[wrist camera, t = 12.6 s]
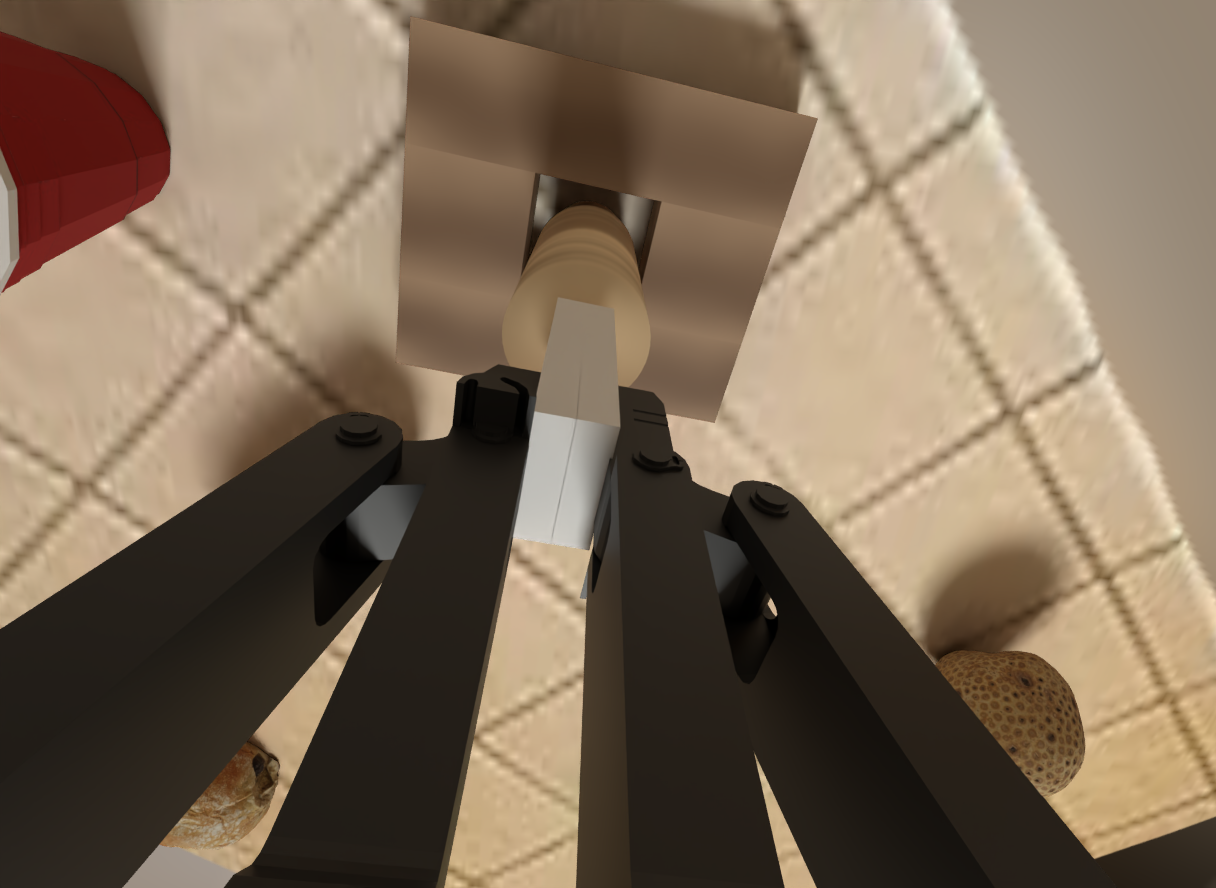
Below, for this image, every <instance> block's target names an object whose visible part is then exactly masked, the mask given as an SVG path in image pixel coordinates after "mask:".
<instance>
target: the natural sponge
mask: <svg viewBox="0 0 1216 888" xmlns="http://www.w3.org/2000/svg"><path fill="white" fill-rule="evenodd" d="M935 666H936V667H937V668H938V670H939V671H940V672H941V673H942V674H943V676H944V677H945V678H946V679H947V681H948V682H949V683H950V684H951V685H952V687H953V688H954V689H955V690H956V692H957V693H958V694H959V695H960V696H961V698H962V699H963V700H964V701H965V703H966V704H967V705H968V706H969V707H970V709H971V710H972V711H973V712H974V713H975V715H976V716H977V717H978V718H979V720H980V721H981V722H982V723H983V724H984V726H985V727H986V728H987V729H988V731H989V732H990V733H991V734H992V735H993V737H994V738H995V739H996V740H997V741H998V743H999V744H1000V745H1001V746H1002V748H1003V749H1004V750H1005V751H1006V752H1007V754H1008V755H1009V756H1010V757H1011V759H1012V760H1013V761H1014V762H1015V763H1016V765H1017V766H1018V767H1019V768H1020V770H1021V771H1022V772H1023V773H1024V774H1025V776H1026V777H1027V778H1028V779H1029V780H1030V782H1031V783H1032V784H1033V785H1034V787H1035V788H1036V789H1037V790H1038V791H1039V793H1040V794H1041V795H1042V796H1043V798H1046V797H1049V796H1051V795H1053V794H1055V793H1057V792H1059V791H1061V790H1062V789H1064V788H1065V787H1066V786H1067V785H1068V784H1069V783H1070V782H1071V781H1072V779H1073V778H1074V777H1075V775H1076V774H1077V772H1078V771H1079V769H1080V768H1081V765H1082V763H1083V760H1084V753H1085V738H1084V731H1083V726H1082V722H1081V718H1080V714H1079V710H1078V706H1077V703H1076V700H1075V697H1074V694H1073V692H1072V690H1071V688H1070V686H1069V685H1068V683H1067V682H1066V681H1065V680H1064V678H1063V677H1062V676H1061V675H1060V674H1059V673H1058V671H1057V670H1056V669H1055V668H1053V667H1052V666H1051V665H1050V664H1048V663H1047V662H1046V661H1045V660H1044V659H1042V658H1041V657H1039V656H1037V655H1035V654H1032V653H1027V652H1021V651H1003V652H999V653H985V652H979V651H968V650H960V651H953V652H951V653H949V654H947V655H945V656H943V657H942V658H941V659H940V660H939V661H938V662H937V663H936V665H935Z"/></svg>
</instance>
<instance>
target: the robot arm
mask: <svg viewBox="0 0 1216 888" xmlns="http://www.w3.org/2000/svg"><path fill="white" fill-rule="evenodd" d="M593 533H594V543H593V549H592V553H591V557H590V561H589V565H588V569H587V573H586V577H585V580H584V584H583V588H582V592H581V596H580V598H582V599H586V597H587V603H586V630H585V658H584V685H583V712H582V740H581V767H580V795H579V822H578V850H577V877H576V888H784V883H783V879H782V874H781V870H780V865H779V861H778V857H777V852H776V848H775V843H774V839H773V835H772V830H771V826H770V821H769V817H768V812H767V808H766V804H765V799H764V795H763V790H762V786H761V782H760V777H759V773H758V768H757V764H756V760H755V755H756V757H757V759H758V761H759V763H760V766H761V768H762V770H763V772H764V774H765V776H766V779H767V781H768V783H769V785H770V787H771V789H772V792H773V794H774V796H775V798H776V800H777V802H778V805H779V807H780V809H781V811H782V813H783V815H784V818H785V820H786V822H787V824H788V826H789V828H790V831H791V833H792V835H793V837H794V839H795V841H796V844H797V846H798V848H799V850H800V852H801V855H802V857H803V859H804V861H805V863H806V865H807V868H808V870H809V872H810V874H811V876H812V878H813V881H814V883H815V885H816V887H817V888H1117V886H1116V885H1115V884H1114V883H1113V882H1112V880H1111V879H1110V878H1109V877H1108V876H1107V874H1106V873H1105V872H1104V871H1103V869H1102V868H1101V867H1100V866H1099V865H1098V863H1097V862H1096V861H1095V860H1094V858H1093V857H1092V856H1091V855H1090V854H1089V852H1088V851H1087V850H1086V849H1085V847H1084V846H1083V845H1082V844H1081V843H1080V841H1079V840H1078V839H1077V838H1076V837H1075V835H1074V834H1073V833H1072V832H1071V830H1070V829H1069V828H1068V827H1067V826H1066V824H1065V823H1064V822H1063V821H1062V819H1061V818H1060V817H1059V816H1058V815H1057V813H1056V812H1055V811H1054V810H1053V809H1052V807H1051V806H1050V805H1049V804H1048V802H1047V801H1046V800H1045V799H1044V798H1043V796H1042V795H1041V794H1040V793H1039V791H1038V790H1037V789H1036V788H1035V787H1034V785H1033V784H1032V783H1031V782H1030V780H1029V779H1028V778H1027V777H1026V776H1025V774H1024V773H1023V772H1022V771H1021V770H1020V768H1019V767H1018V766H1017V765H1016V763H1015V762H1014V761H1013V760H1012V759H1011V757H1010V756H1009V755H1008V754H1007V752H1006V751H1005V750H1004V749H1003V748H1002V746H1001V745H1000V744H999V743H998V741H997V740H996V739H995V738H994V737H993V735H992V734H991V733H990V732H989V731H988V729H987V728H986V727H985V726H984V724H983V723H982V722H981V721H980V720H979V718H978V717H977V716H976V715H975V713H974V712H973V711H972V710H971V709H970V707H969V706H968V705H967V704H966V703H965V701H964V700H963V699H962V698H961V696H960V695H959V694H958V693H957V692H956V690H955V689H954V688H953V687H952V685H951V684H950V683H949V682H948V681H947V679H946V678H945V677H944V676H943V674H942V673H941V672H940V671H939V670H938V668H937V667H936V666H935V665H934V664H933V662H932V661H931V660H930V659H929V657H928V656H927V655H926V654H925V653H924V651H923V650H922V649H921V648H920V646H919V645H918V644H917V643H916V642H915V640H914V639H913V638H912V637H911V635H910V634H909V633H908V632H907V631H906V629H905V628H904V627H903V626H902V625H901V623H900V622H899V621H898V620H897V618H896V617H895V616H894V615H893V614H892V612H891V611H890V610H889V609H888V607H887V606H886V605H885V604H884V603H883V601H882V600H881V599H880V598H879V597H878V595H877V594H876V593H875V592H874V590H873V589H872V588H871V587H870V586H869V584H868V583H867V582H866V581H865V579H864V578H863V577H862V576H861V575H860V573H859V572H858V571H857V570H856V568H855V567H854V566H853V565H852V564H851V562H850V561H849V560H848V559H847V558H846V556H845V555H844V554H843V553H842V551H841V550H840V549H839V548H838V547H837V545H836V544H835V543H834V542H833V540H832V539H831V538H830V537H829V536H828V534H827V533H826V532H825V531H824V529H823V528H822V527H821V526H820V525H819V523H818V522H817V521H816V520H815V519H814V517H813V516H812V515H811V514H810V512H809V511H808V510H807V509H806V508H805V506H804V505H803V504H802V503H801V502H800V501H799V500H798V499H797V498H796V497H794V496H793V495H792V494H790V493H789V492H787V491H785V490H783V489H782V488H781V487H779V486H777V485H772V484H771V483H768V482H759V481H753V480H752V481H742V482H740V483H738V484H736V485H734V487H733V489H732V492H731V494H730V497H728V496H726V495H723V494H720V493H717V492H715V491H712V490H709V489H707V488H705V487H703V486H700V485H698V484H697V483H695V482H693V481H692V477H691V473H690V468H689V466H688V464H687V463H686V461H685V459H683V458H682V457H681V456H680V455H679V454H677V453H676V452H674V451H673V447H672V442H671V437H670V432H669V427H668V422H667V418H666V412H665V407H664V403H663V402H662V401H661V400H660V399H659V398H658V397H657V396H656V395H655V394H654V392H650V391H645V390H640V389H634V388H629V387H624V386H619V385H618V373H617V353H616V334H615V315H614V309H613V308H608V307H603V306H599V305H594V304H589V303H584V302H579V301H574V300H569V299H565V298H560V297H558V299H557V304H556V308H555V313H554V317H553V322H552V326H551V331H550V335H549V340H548V344H547V349H546V353H545V358H544V362H543V367H542V371H541V372H537V371H532V370H526V369H521V368H516V367H511V366H506V365H500V364H498V365H496V366H494V367H492V368H490V369H489V370H487V371H485V372H483V373H473V374H470V375H466V376H463V377H462V378H461V379H460V380H459V381H458V382H457V385H456V395H455V405H454V416H453V426H452V428H451V430H450V433H449V435H448V436H446V437H444V438H440V439H435V440H425V441H403V435H402V429H401V428H400V427H399V426H398V425H397V424H396V423H395V422H393V421H391V420H389V419H387V418H384V417H382V416H378V415H373V414H370V413H362V412H360V413H358V412H351V413H347V414H341V415H335V416H332V417H330V418H327V419H325V420H323V421H321V422H319V423H318V424H316V425H314V426H313V427H311V428H310V429H308V430H307V431H305V432H304V433H302V434H301V435H299V436H298V437H296V438H294V439H293V440H291V441H290V442H288V443H287V444H285V445H284V446H282V447H281V448H279V449H277V450H276V451H274V452H273V453H271V454H270V455H268V456H267V457H265V458H264V459H262V460H261V461H259V462H257V463H256V464H254V465H253V466H251V467H250V468H248V469H247V470H245V471H244V472H242V473H240V474H239V475H237V476H236V477H234V478H233V479H231V480H230V481H228V482H227V483H225V484H224V485H222V486H220V487H219V488H217V489H216V490H214V491H213V492H211V493H210V494H208V495H207V496H205V497H203V498H202V499H200V500H199V501H197V502H196V503H194V504H193V505H191V506H190V507H188V508H186V509H185V510H183V511H182V512H180V513H179V514H177V515H176V516H174V517H173V518H171V519H170V520H168V521H166V522H165V523H163V524H162V525H160V526H159V527H157V528H156V529H154V530H153V531H151V532H149V533H148V534H146V535H145V536H143V537H142V538H140V539H139V540H137V541H136V542H134V543H133V544H131V545H129V546H128V547H126V548H125V549H123V550H122V551H120V552H119V553H117V554H116V555H114V556H112V557H111V558H109V559H108V560H106V561H105V562H103V563H102V564H100V565H99V566H97V567H96V568H94V569H92V570H91V571H89V572H88V573H86V574H85V575H83V576H82V577H80V578H79V579H77V580H75V581H74V582H72V583H71V584H69V585H68V586H66V587H65V588H63V589H62V590H60V591H59V592H57V593H55V594H54V595H52V596H51V597H49V598H48V599H46V600H45V601H43V602H42V603H40V604H38V605H37V606H35V607H34V608H32V609H31V610H29V611H28V612H26V613H25V614H23V615H21V616H20V617H18V618H17V619H15V620H14V621H12V622H11V623H9V624H8V625H6V626H5V627H3V628H1V629H0V888H122V887H123V886H124V885H125V884H126V883H127V882H128V880H129V879H130V878H131V877H132V876H133V875H134V873H135V872H136V871H137V870H138V869H139V868H140V866H141V865H142V864H143V863H144V862H145V860H146V859H147V858H148V857H149V856H150V855H151V853H152V852H153V851H154V850H155V849H156V848H157V846H158V845H159V844H160V843H161V842H162V841H163V839H164V838H165V837H166V836H167V835H168V833H169V832H170V831H171V830H172V829H173V828H174V826H175V825H176V824H177V823H178V822H179V821H180V819H181V818H182V817H183V816H184V815H185V813H186V812H187V811H188V810H189V809H190V808H191V806H192V805H193V804H194V803H195V802H196V801H197V799H198V798H199V797H200V796H201V795H202V794H203V792H204V791H205V790H206V789H207V788H208V786H209V785H210V784H211V783H212V782H213V781H214V779H215V778H216V777H217V776H218V775H219V774H220V772H221V771H222V770H223V769H224V768H225V767H226V765H227V764H228V763H229V762H230V761H231V759H232V758H233V757H234V756H235V755H236V754H237V752H238V751H239V750H240V749H241V748H242V747H243V745H244V744H245V743H246V742H247V741H248V739H249V738H250V737H251V736H252V735H253V734H254V732H255V731H256V730H257V729H258V728H259V727H260V725H261V724H262V723H263V722H264V721H265V720H266V718H267V717H268V716H269V715H270V714H271V712H272V711H273V710H274V709H275V708H276V707H277V705H278V704H279V703H280V702H281V701H282V700H283V698H284V697H285V696H286V695H287V694H288V692H289V691H290V690H291V689H292V688H293V687H294V685H295V684H296V683H297V682H298V681H299V680H300V678H301V677H302V676H303V675H304V674H305V673H306V671H307V670H308V669H309V668H310V667H311V665H312V664H313V663H314V662H315V661H316V660H317V658H318V657H319V656H320V655H321V654H322V653H323V651H324V650H325V649H326V648H327V647H328V646H329V644H330V643H331V642H332V641H333V640H334V638H335V637H336V636H337V635H338V634H339V633H340V631H341V630H342V629H343V628H344V627H345V626H346V624H347V623H348V622H349V621H350V620H351V618H352V617H353V616H354V615H355V614H356V613H357V611H358V610H359V609H360V608H361V607H362V606H363V604H364V603H365V602H366V601H367V600H368V599H369V597H370V596H371V595H372V594H373V593H374V591H375V590H376V589H377V588H378V587H379V586H380V584H381V583H382V584H381V587H380V589H379V591H378V593H377V595H376V598H375V600H374V602H373V604H372V607H371V609H370V611H369V613H368V616H367V618H366V620H365V622H364V625H363V627H362V629H361V631H360V633H359V636H358V638H357V640H356V642H355V645H354V647H353V649H352V651H351V654H350V656H349V658H348V660H347V662H346V665H345V667H344V669H343V671H342V674H341V676H340V678H339V680H338V683H337V685H336V687H335V689H334V691H333V694H332V696H331V698H330V700H329V703H328V705H327V707H326V709H325V712H324V714H323V716H322V718H321V720H320V723H319V725H318V727H317V729H316V732H315V734H314V736H313V738H312V741H311V743H310V745H309V747H308V749H307V752H306V754H305V756H304V758H303V761H302V763H301V765H300V767H299V770H298V772H297V774H296V776H295V778H294V781H293V783H292V785H291V787H290V790H289V792H288V794H287V796H286V799H285V801H284V803H283V805H282V808H281V810H280V812H279V814H278V816H277V819H276V821H275V823H274V825H273V828H272V830H271V832H270V834H269V836H268V838H267V840H266V842H265V844H264V846H263V848H262V850H261V852H260V854H259V855H258V856H257V858H256V859H255V861H254V862H253V863H252V865H250V866H248V867H247V868H245V869H243V870H241V871H239V872H238V873H236V874H234V875H233V876H232V878H231V879H230V880H229V882H228V883H227V884H226V886H225V887H224V888H444V885H445V880H446V875H447V870H448V865H449V860H450V855H451V850H452V845H453V840H454V835H455V830H456V825H457V820H458V815H459V810H460V805H461V800H462V795H463V790H464V784H465V779H466V774H467V769H468V764H469V759H470V754H471V749H472V744H473V739H474V734H475V729H476V724H477V719H478V714H479V709H480V704H481V699H482V694H483V688H484V683H485V678H486V673H487V668H488V663H489V658H490V653H491V648H492V643H493V638H494V633H495V628H496V623H497V618H498V613H499V608H500V603H501V598H502V592H503V587H504V582H505V577H506V572H507V567H508V562H509V557H510V551H511V546H512V540H513V538H517V539H523V540H529V541H535V542H542V543H548V544H554V545H560V546H567V547H573V548H579V549H585V550H589V549H590V545H591V541H592V537H593ZM770 598H771V599H772V600H773V602H774V605H775V607H776V610H777V616H775V615H774V614H773V613H772V611H771V609H770V608H769V606H768V602H769V600H770ZM753 750H754V751H753ZM754 752H755V755H754Z"/></svg>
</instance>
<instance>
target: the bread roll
mask: <svg viewBox="0 0 1216 888" xmlns="http://www.w3.org/2000/svg"><path fill="white" fill-rule="evenodd" d="M279 768H280V766H279V763H278V761H275V760H273V759H272V758H271V757H269V756H268V755H267V754H266V753H264V752H262V751H261V750H260V749H259V748H258V747H256V746H254V745H252V744H250V743H248V742H246V743H245V744H244V745H243V747H242V748H241V749H240V750H239V751H238V752H237V754H236V755H235V756H234V757H233V758H232V759H231V761H230V762H229V763H228V764H227V765H226V767H225V768H224V769H223V770H222V771H221V772H220V774H219V775H218V776H217V777H216V778H215V779H214V781H213V782H212V783H211V784H210V785H209V786H208V788H207V789H206V790H205V791H204V792H203V794H202V795H201V796H200V797H199V798H198V799H197V801H196V802H195V803H194V804H193V805H192V806H191V808H190V809H189V810H188V811H187V812H186V813H185V815H184V816H183V817H182V818H181V819H180V821H179V822H178V823H177V824H176V825H175V826H174V828H173V829H172V830H171V831H170V832H169V833H168V835H167V836H166V837H165V838H164V839H163V841H162V842H161V843H160V845H162V846H169V847H175V846H176V847H181V848H194V849H217V850H218V849H220V848H223V847H226V846H228V845H231V844H233V843H235V842H237V841H239V840H240V839H242V838H243V837H244V836H246V835H247V834H248V833H249V832H250V831H251V830H252V829H254V828H255V826H256V825H257V824H258V823H259V822H260V820H261V819H262V818H263V817H264V816H265V814H266V813H267V811H268V809H269V807H270V803H271V800H272V798H273V795H274V792H275V788H276V787H277V785H278V776H277V772H278V770H279Z"/></svg>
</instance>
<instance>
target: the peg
mask: <svg viewBox="0 0 1216 888" xmlns="http://www.w3.org/2000/svg"><path fill="white" fill-rule="evenodd" d="M558 297H560V298H565V299H569V300H574V301H579V302H584V303H589V304H594V305H599V306H603V307H608V308H613V309H614V315H615V334H616V353H617V373H618V385H619V386H624V387H629V386H630V385H631V384H632V383H633V382H634V381H635V380H636V379H637V377H638V376H639V374H640V373H641V371H642V369H643V367H644V365H645V363H646V360H647V357H648V354H649V349H650V340H651V334H650V325H649V320H648V315H647V310H646V305H645V300H644V295H643V290H642V285H641V280H640V275H639V270H638V265H637V260H636V255H635V250H634V246H633V241H632V239H631V236H630V234H629V232H628V230H627V228H626V227H625V226H624V224H623V223H622V222H621V221H620V220H619V219H618V218H617V217H616V216H615V214H614V213H613V212H612V211H611V210H610V209H609V208H608V207H606V206H604V205H603V204H600V203H598V202H594V201H580V202H576V203H574V204H571V205H570V206H568V207H567V208H565V209H564V210H562V211H561V212H559V213H558V214H556V215H555V216H554V217H552V218H551V219H550V220H549V222H548V223H547V224H546V225H545V227H544V228H543V230H542V232H541V234H540V236H539V238H538V240H537V243H536V245H535V247H534V249H533V252H532V254H531V256H530V258H529V260H528V263H527V265H526V267H525V269H524V272H523V274H522V276H521V278H520V280H519V283H518V285H517V287H516V289H515V292H514V294H513V296H512V298H511V301H510V303H509V305H508V307H507V310H506V313H505V316H504V320H503V326H502V342H503V348H504V352H505V355H506V358H507V361H508V363H509V365H510V366H511V367H516V368H521V369H526V370H532V371H537V372H541V371H542V367H543V362H544V358H545V353H546V349H547V344H548V340H549V335H550V331H551V326H552V322H553V317H554V313H555V308H556V304H557V299H558Z"/></svg>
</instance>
